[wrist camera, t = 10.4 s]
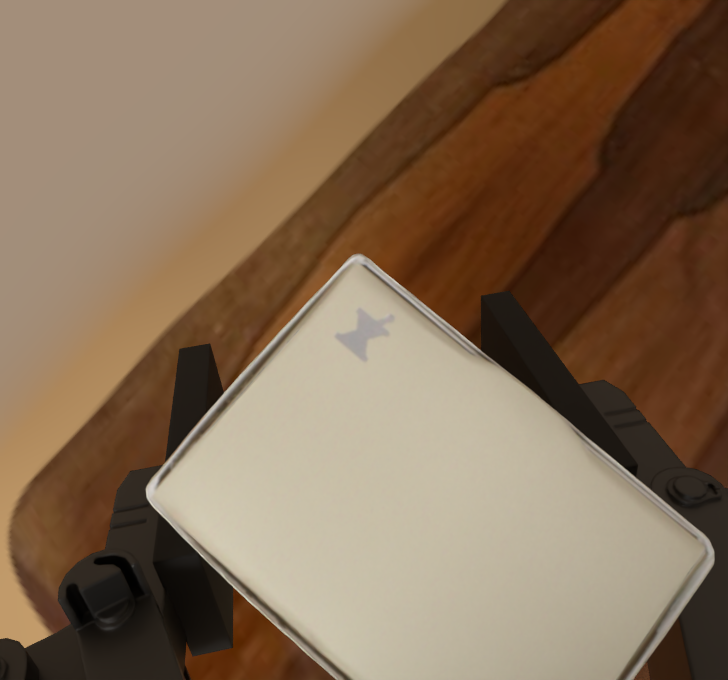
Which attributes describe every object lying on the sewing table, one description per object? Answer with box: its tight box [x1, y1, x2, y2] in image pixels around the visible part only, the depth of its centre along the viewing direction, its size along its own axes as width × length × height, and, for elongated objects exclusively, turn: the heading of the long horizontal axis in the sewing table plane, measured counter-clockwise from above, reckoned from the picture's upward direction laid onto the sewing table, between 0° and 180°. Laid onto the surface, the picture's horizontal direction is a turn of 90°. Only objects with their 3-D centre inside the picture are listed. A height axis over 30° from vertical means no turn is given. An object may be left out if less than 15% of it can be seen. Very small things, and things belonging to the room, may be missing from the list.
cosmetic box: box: [146, 254, 715, 680], centre depth 14 cm, size 6×4×12 cm
